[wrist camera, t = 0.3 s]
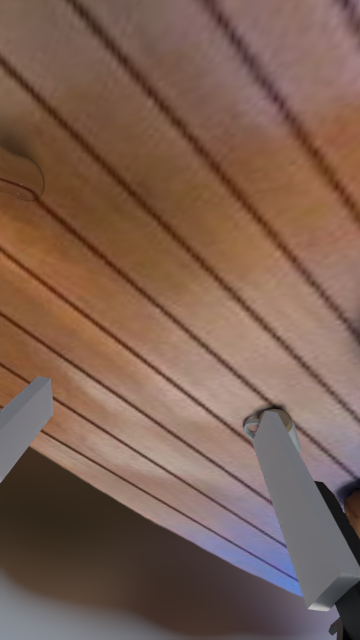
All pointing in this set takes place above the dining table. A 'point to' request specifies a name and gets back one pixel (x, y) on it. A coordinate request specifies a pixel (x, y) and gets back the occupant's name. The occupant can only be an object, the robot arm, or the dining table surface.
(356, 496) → the butternut squash
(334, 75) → the dining table surface
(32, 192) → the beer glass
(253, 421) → the ceramic mug
